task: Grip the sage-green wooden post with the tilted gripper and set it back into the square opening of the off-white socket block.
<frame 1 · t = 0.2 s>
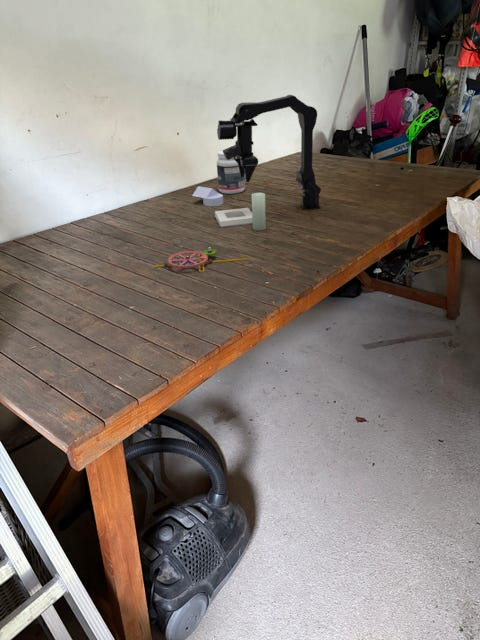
hand: (244, 179, 202), 14 cm above the table, tool pointing down, fingers open, 9 cm apart
wedge on round base: (210, 203, 227), on the table
green post: (259, 228, 192), on the table
mechanical gear assembly: (201, 265, 165), on the table
socket block: (235, 220, 202), on the table
supplement tub: (231, 191, 242), on the table
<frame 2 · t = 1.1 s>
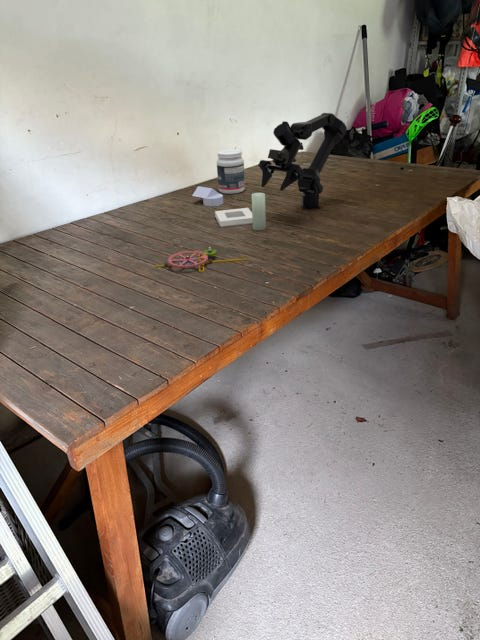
hand: (271, 188, 191), 13 cm above the table, tool tilted 45°, fingers open, 9 cm apart
nothing on the table moved.
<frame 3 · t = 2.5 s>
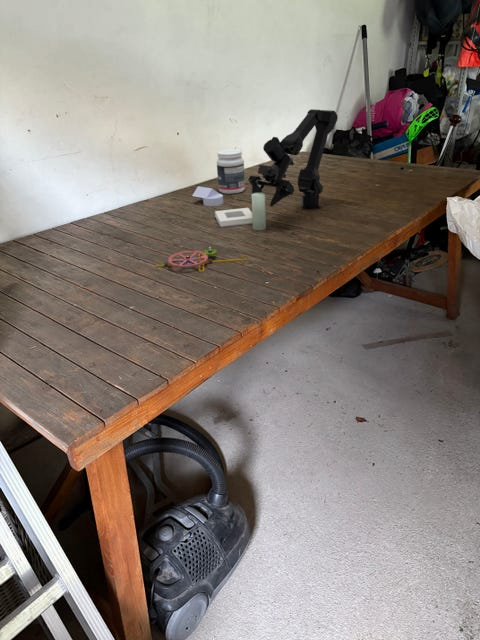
hand: (261, 204, 189), 9 cm above the table, tool tilted 45°, fingers open, 9 cm apart
nothing on the table moved.
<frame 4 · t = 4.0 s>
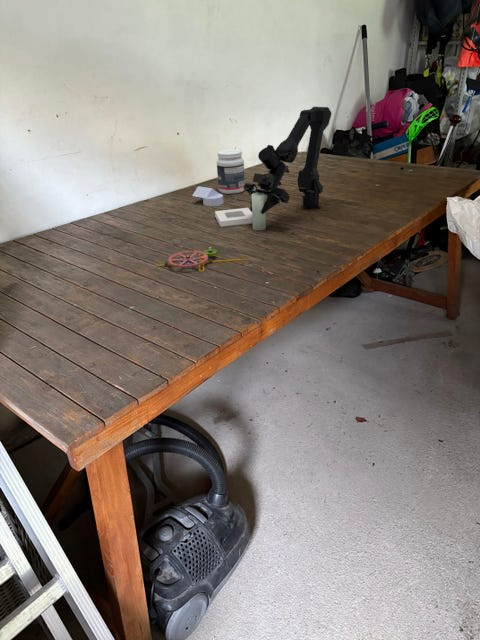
hand: (256, 212, 188), 7 cm above the table, tool tilted 45°, fingers closed on green post, 5 cm apart
green post: (259, 228, 192), on the table, touching gripper
everything else where it was.
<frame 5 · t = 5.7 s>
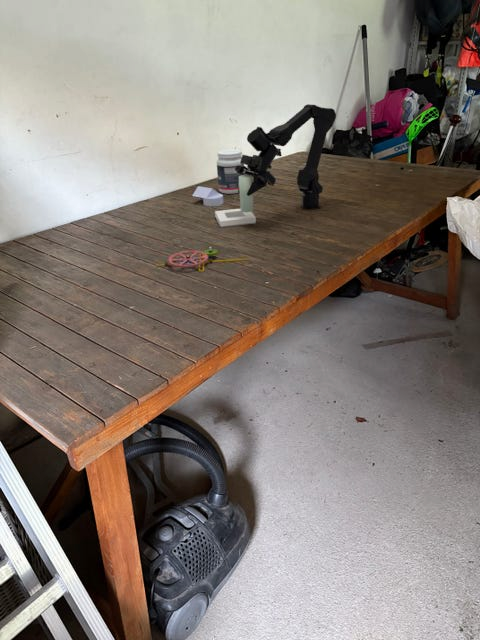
hand: (243, 194, 189), 12 cm above the table, tool tilted 45°, fingers closed on green post, 5 cm apart
green post: (246, 210, 193), point 6 cm above the table, touching gripper
everything else where it was.
when the fingers open (8 cm above the table, at t = 7.7 s): green post drops 1 cm, resting on socket block.
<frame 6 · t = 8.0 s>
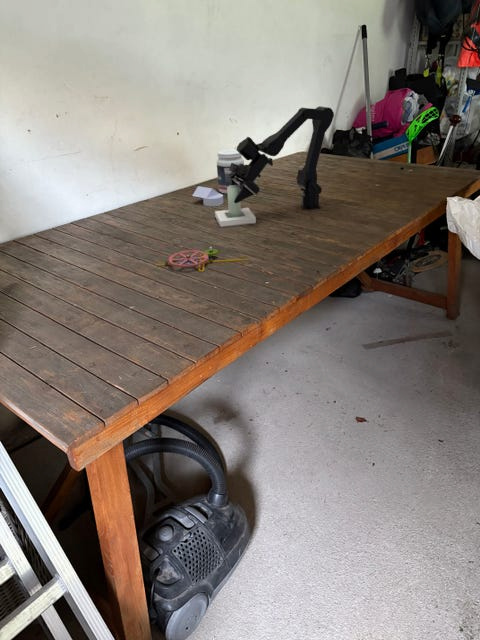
hand: (230, 200, 198), 8 cm above the table, tool tilted 45°, fingers open, 8 cm apart
green post: (235, 219, 202), resting on socket block
everything else where it was.
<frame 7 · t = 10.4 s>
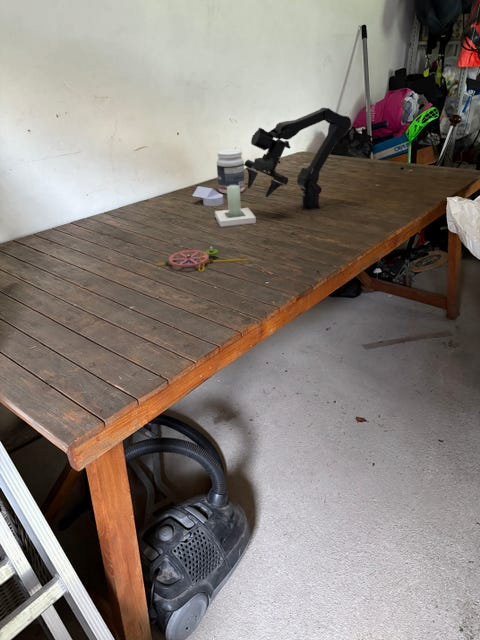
hand: (257, 192, 202), 9 cm above the table, tool tilted 30°, fingers open, 9 cm apart
nothing on the table moved.
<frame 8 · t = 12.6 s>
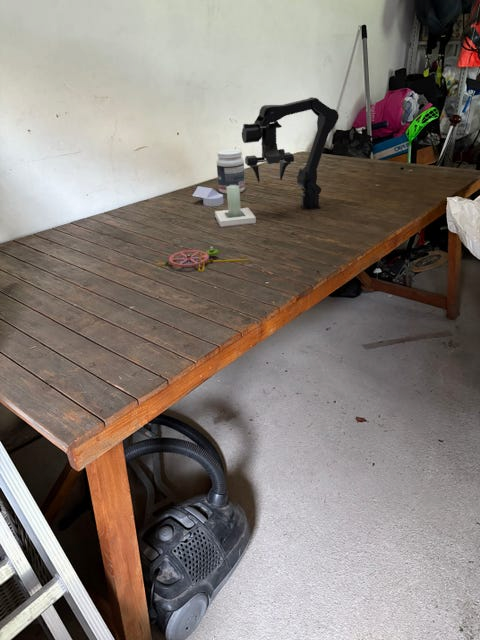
hand: (269, 181, 203), 13 cm above the table, tool pointing down, fingers open, 9 cm apart
nothing on the table moved.
at the end: green post 0.1 cm off-centre on the socket block, point 0.5 cm above the socket block's base; green post tilted 1°; the gripper is holding nothing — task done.
